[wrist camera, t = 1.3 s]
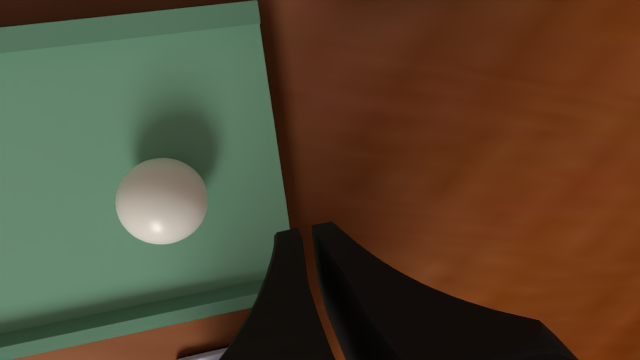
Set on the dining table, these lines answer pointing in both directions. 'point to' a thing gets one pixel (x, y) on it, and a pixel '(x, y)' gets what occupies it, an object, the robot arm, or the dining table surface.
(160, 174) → the ball
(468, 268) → the dining table surface
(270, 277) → the robot arm
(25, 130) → the green
